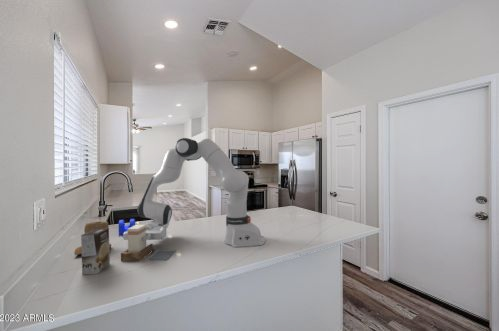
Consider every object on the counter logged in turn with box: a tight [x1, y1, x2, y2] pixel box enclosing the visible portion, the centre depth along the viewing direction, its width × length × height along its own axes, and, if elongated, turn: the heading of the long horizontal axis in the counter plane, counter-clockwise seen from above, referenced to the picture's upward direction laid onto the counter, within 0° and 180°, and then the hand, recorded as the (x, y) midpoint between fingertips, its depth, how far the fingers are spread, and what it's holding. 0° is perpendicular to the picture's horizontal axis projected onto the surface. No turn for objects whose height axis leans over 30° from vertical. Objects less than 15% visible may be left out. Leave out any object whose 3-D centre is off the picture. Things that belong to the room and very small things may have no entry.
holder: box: [120, 243, 154, 262], centre depth 109 cm, size 9×12×4 cm
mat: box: [146, 249, 176, 262], centre depth 109 cm, size 9×11×1 cm
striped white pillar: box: [127, 224, 147, 253], centre depth 109 cm, size 5×7×14 cm
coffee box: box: [80, 228, 111, 276], centre depth 96 cm, size 9×6×16 cm
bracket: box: [118, 218, 136, 236], centre depth 151 cm, size 18×8×9 cm, turn 18°
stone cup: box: [73, 220, 112, 256], centre depth 117 cm, size 15×12×15 cm
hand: (136, 239), depth 108 cm, fingers closed on striped white pillar, 5 cm apart
